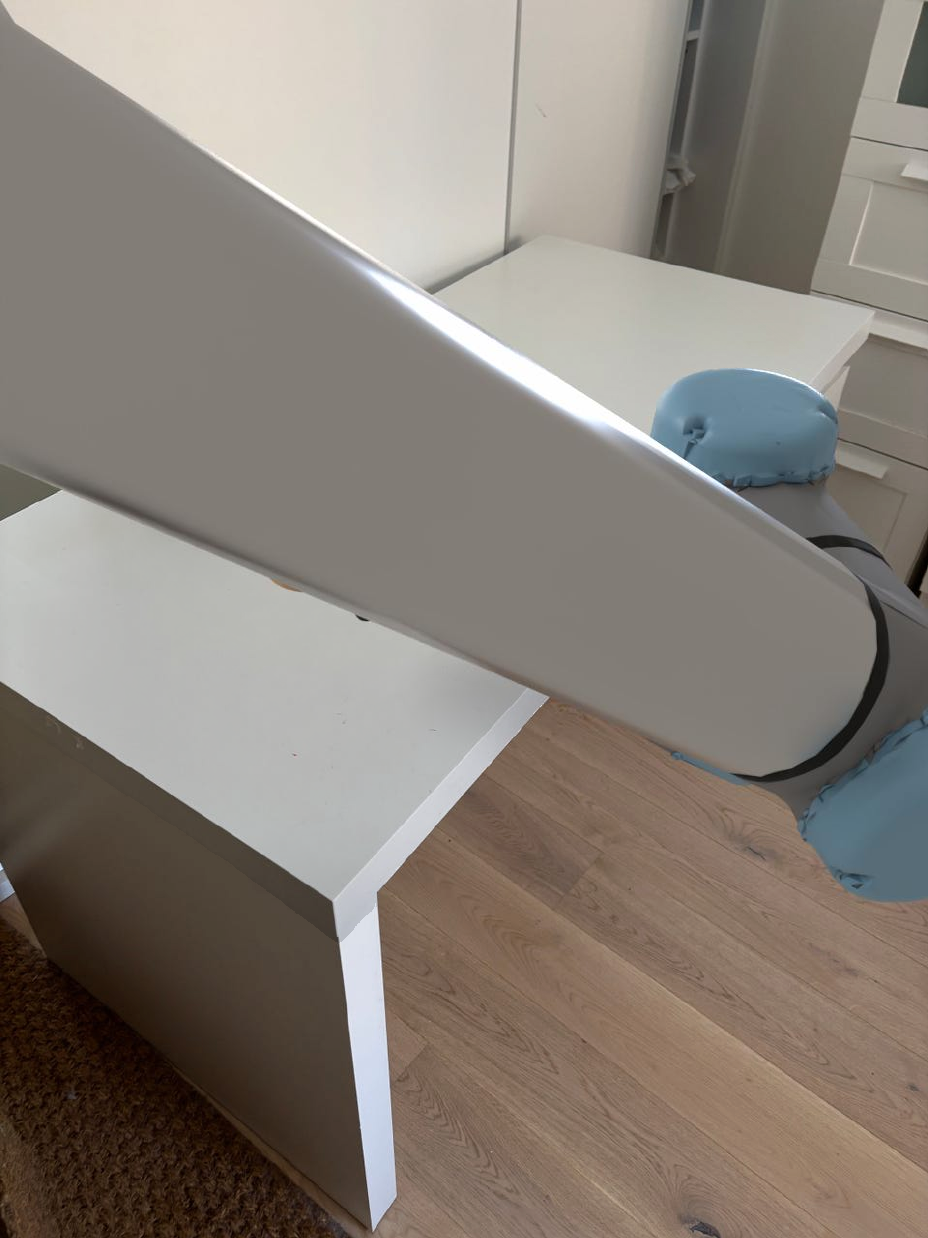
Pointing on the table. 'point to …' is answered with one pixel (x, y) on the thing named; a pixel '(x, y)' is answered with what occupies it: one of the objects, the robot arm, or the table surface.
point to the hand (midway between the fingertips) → (252, 455)
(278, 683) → the table surface
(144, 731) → the table surface
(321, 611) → the table surface
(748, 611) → the robot arm
